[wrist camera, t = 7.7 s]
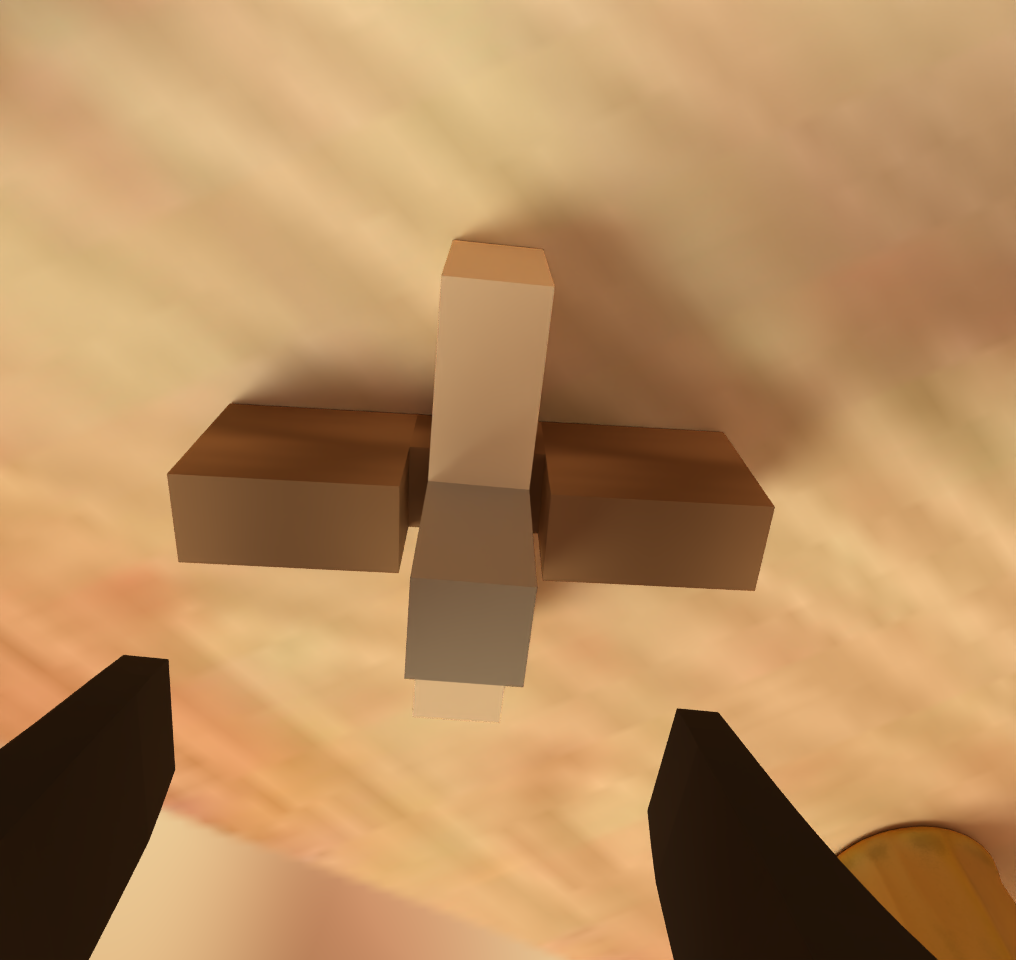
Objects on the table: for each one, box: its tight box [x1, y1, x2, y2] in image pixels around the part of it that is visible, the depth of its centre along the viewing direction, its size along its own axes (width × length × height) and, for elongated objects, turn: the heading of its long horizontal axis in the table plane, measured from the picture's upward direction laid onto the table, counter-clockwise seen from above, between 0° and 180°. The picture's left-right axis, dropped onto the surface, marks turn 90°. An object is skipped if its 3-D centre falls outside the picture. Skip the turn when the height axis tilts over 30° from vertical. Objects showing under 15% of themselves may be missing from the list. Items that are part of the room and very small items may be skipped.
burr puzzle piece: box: [404, 240, 555, 723], centre depth 16 cm, size 10×2×8 cm, turn 174°
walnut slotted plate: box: [167, 404, 775, 591], centre depth 18 cm, size 12×2×4 cm, turn 86°
